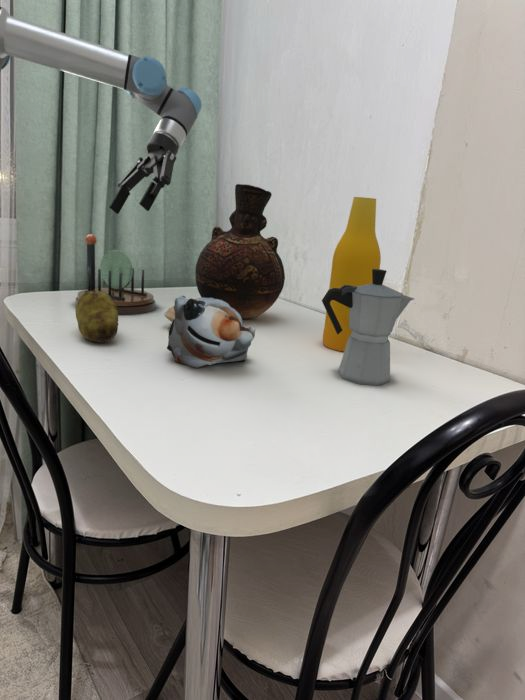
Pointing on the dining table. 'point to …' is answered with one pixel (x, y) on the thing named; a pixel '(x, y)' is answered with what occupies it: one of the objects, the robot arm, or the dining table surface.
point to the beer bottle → (352, 265)
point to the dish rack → (114, 277)
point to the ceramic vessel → (242, 258)
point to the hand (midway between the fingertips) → (128, 209)
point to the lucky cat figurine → (207, 332)
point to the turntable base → (133, 308)
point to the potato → (97, 316)
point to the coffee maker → (367, 328)
